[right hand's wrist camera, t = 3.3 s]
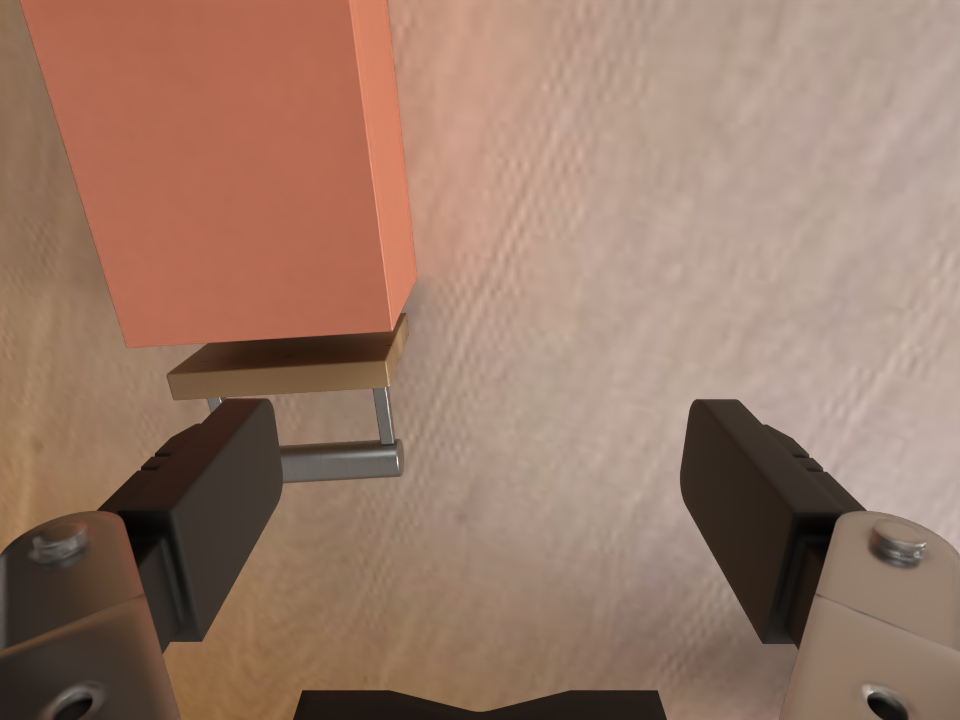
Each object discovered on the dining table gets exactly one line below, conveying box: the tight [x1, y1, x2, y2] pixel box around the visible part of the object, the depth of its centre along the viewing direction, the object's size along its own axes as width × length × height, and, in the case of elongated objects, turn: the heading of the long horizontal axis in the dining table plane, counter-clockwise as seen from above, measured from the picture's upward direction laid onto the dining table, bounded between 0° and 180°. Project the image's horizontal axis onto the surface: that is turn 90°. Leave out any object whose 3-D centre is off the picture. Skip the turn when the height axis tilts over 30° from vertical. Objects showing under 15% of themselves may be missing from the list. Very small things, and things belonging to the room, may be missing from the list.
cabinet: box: [19, 0, 417, 348], centre depth 23 cm, size 16×10×9 cm, turn 4°
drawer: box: [167, 313, 409, 483], centre depth 25 cm, size 20×9×7 cm, turn 4°
